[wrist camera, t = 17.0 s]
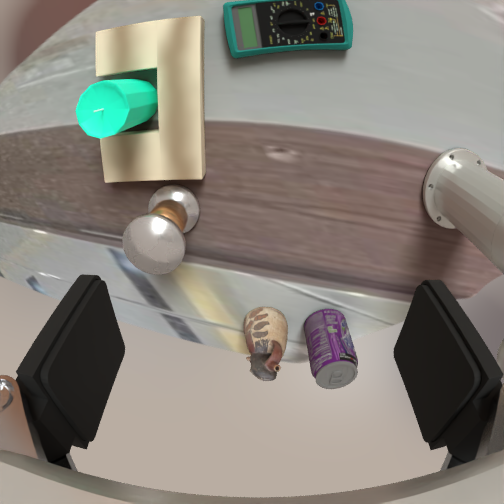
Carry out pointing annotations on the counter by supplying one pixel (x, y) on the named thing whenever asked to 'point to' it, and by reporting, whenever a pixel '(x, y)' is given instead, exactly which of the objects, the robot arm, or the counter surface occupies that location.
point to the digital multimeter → (287, 26)
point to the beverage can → (330, 349)
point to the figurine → (265, 341)
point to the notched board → (169, 99)
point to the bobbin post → (162, 230)
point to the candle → (116, 106)
